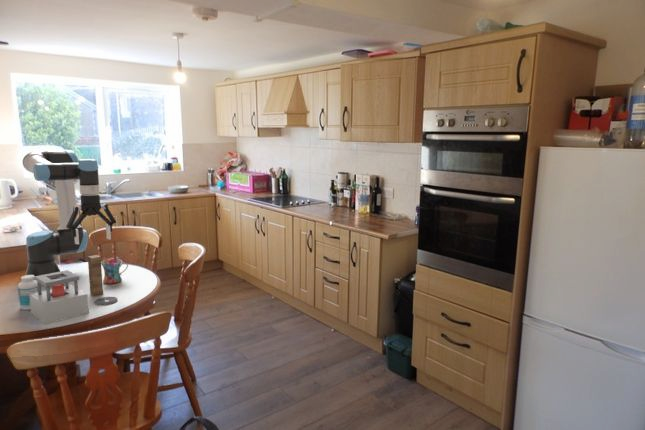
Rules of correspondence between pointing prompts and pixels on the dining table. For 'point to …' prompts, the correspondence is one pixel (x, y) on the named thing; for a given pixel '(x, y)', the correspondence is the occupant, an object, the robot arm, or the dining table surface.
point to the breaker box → (58, 298)
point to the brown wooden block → (95, 275)
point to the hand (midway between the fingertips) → (93, 241)
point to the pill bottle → (26, 290)
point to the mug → (112, 270)
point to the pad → (105, 300)
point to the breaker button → (58, 290)
